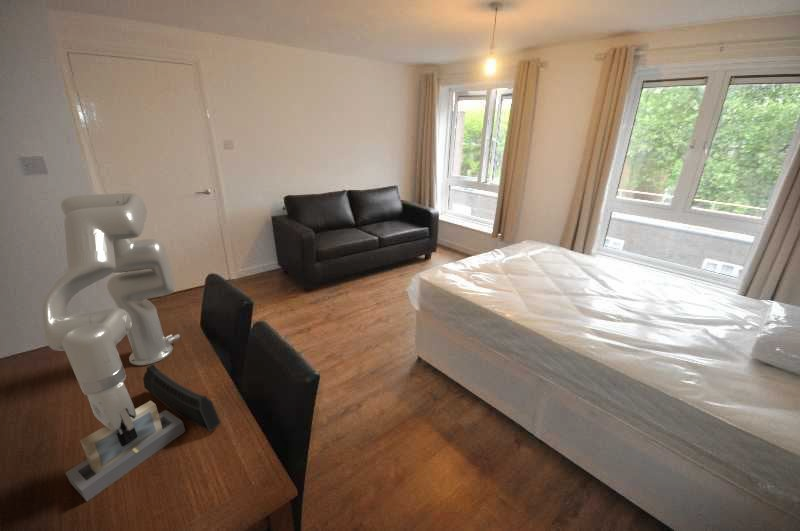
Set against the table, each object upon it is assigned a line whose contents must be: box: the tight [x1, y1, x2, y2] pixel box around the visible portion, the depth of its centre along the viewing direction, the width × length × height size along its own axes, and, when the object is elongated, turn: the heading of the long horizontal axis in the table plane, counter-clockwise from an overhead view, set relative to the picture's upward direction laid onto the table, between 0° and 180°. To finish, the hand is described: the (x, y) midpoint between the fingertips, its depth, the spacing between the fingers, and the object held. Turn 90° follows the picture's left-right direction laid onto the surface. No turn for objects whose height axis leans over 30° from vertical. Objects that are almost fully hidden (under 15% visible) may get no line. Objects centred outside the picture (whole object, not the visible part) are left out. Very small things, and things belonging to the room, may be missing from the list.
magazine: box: [142, 364, 221, 432], centre depth 93 cm, size 17×3×30 cm
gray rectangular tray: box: [65, 409, 186, 502], centre depth 81 cm, size 21×8×4 cm, turn 151°
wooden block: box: [79, 400, 163, 474], centre depth 79 cm, size 14×3×9 cm, turn 151°
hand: (126, 438), depth 80 cm, fingers closed on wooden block, 2 cm apart
